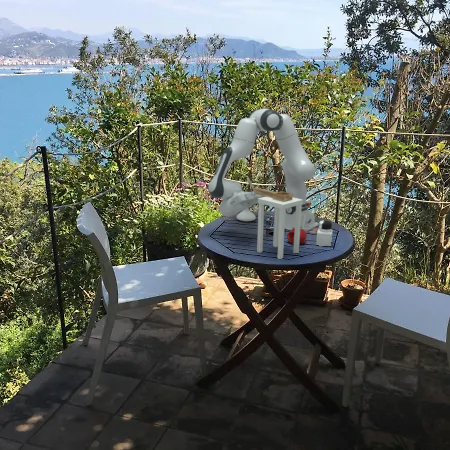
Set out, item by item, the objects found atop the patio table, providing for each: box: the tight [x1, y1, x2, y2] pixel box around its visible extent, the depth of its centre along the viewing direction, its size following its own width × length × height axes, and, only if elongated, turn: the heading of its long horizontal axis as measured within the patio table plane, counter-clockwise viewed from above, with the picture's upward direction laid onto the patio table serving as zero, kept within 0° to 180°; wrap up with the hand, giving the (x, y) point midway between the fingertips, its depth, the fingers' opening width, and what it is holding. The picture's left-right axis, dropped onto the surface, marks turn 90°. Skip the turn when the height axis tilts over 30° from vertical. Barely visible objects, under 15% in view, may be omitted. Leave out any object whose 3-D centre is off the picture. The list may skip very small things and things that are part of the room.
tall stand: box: [256, 197, 303, 260], centre depth 211 cm, size 14×15×26 cm
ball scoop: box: [252, 187, 293, 202], centre depth 211 cm, size 6×20×3 cm, turn 43°
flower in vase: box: [236, 177, 257, 222], centre depth 263 cm, size 13×11×25 cm
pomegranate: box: [286, 227, 308, 245], centre depth 228 cm, size 10×10×9 cm
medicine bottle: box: [315, 220, 333, 247], centre depth 225 cm, size 7×7×12 cm
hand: (261, 191), depth 215 cm, fingers open, 8 cm apart
